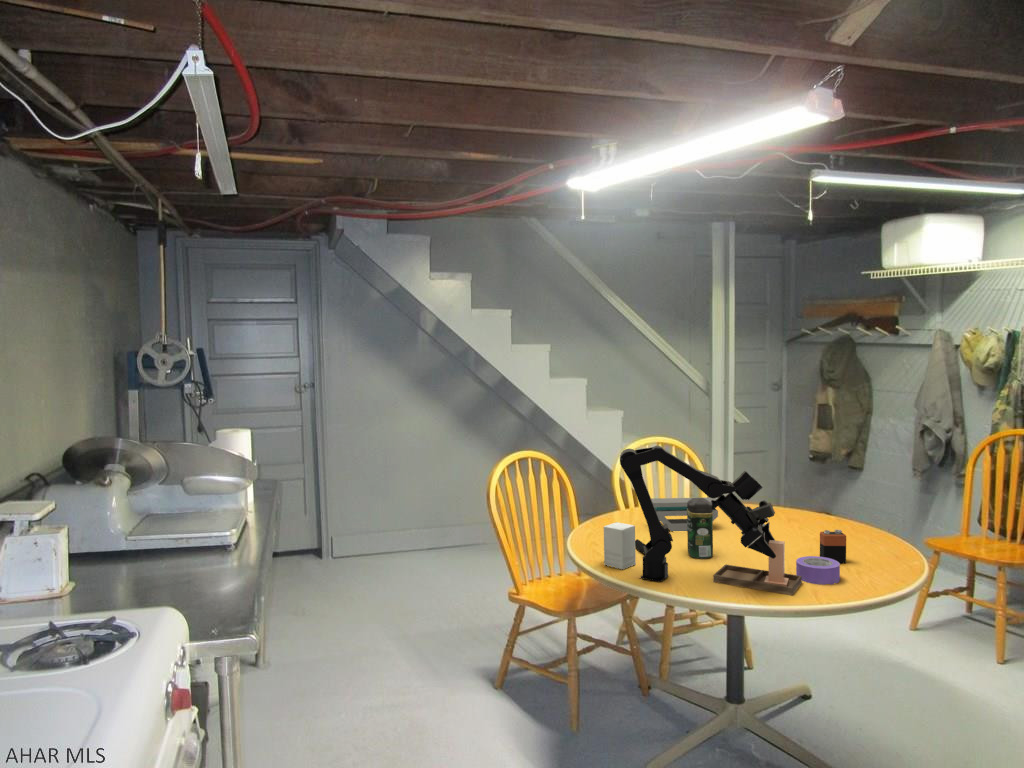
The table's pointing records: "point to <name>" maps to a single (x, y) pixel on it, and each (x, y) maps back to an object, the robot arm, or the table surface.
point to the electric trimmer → (639, 546)
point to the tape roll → (818, 570)
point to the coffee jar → (700, 528)
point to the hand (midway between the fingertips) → (776, 553)
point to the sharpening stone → (675, 511)
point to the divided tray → (754, 579)
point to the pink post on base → (777, 564)
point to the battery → (833, 545)
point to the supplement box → (619, 545)
